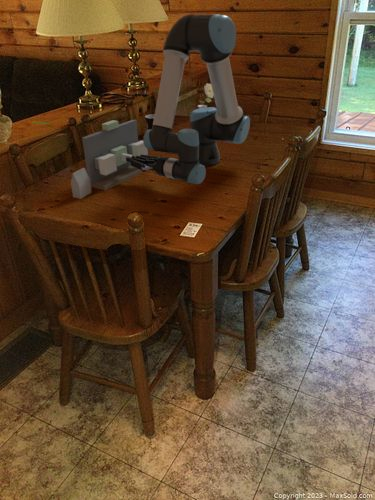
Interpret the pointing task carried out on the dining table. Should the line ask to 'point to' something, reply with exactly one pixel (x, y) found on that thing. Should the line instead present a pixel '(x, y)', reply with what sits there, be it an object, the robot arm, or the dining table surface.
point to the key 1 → (105, 164)
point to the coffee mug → (149, 121)
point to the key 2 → (137, 148)
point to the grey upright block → (80, 184)
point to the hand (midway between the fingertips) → (122, 156)
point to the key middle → (119, 154)
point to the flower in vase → (208, 93)
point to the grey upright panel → (103, 145)
